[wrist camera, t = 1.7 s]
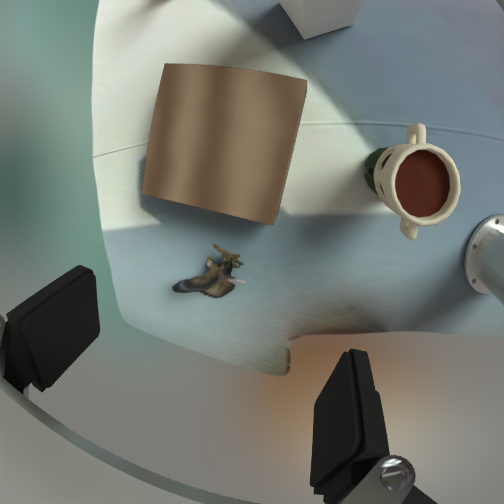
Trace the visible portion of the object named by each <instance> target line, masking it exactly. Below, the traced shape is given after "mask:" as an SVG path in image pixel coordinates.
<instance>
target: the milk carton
mask: <svg viewBox="0 0 504 504" xmlns="http://www.w3.org/2000/svg"><path fill="white" fill-rule="evenodd" d="M361 2H362V0H279V3H280V5H281V6H282V7H283V9H284V10H285V12H286V13H287V15H288V16H289V18H290V19H291V21H292V22H293V24H294V25H295V27H296V28H297V30H298V31H299V33H300V34H301V36H302V38H303V39H304V40H306V39H309V38H312V37H315V36H318V35H321V34H324V33H327V32H330V31H334V30H337V29H341V28H344V27H348V26H352V25H353V24H354V21H355V18H356V16H357V13H358V10H359V8H360V5H361Z"/></svg>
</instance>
